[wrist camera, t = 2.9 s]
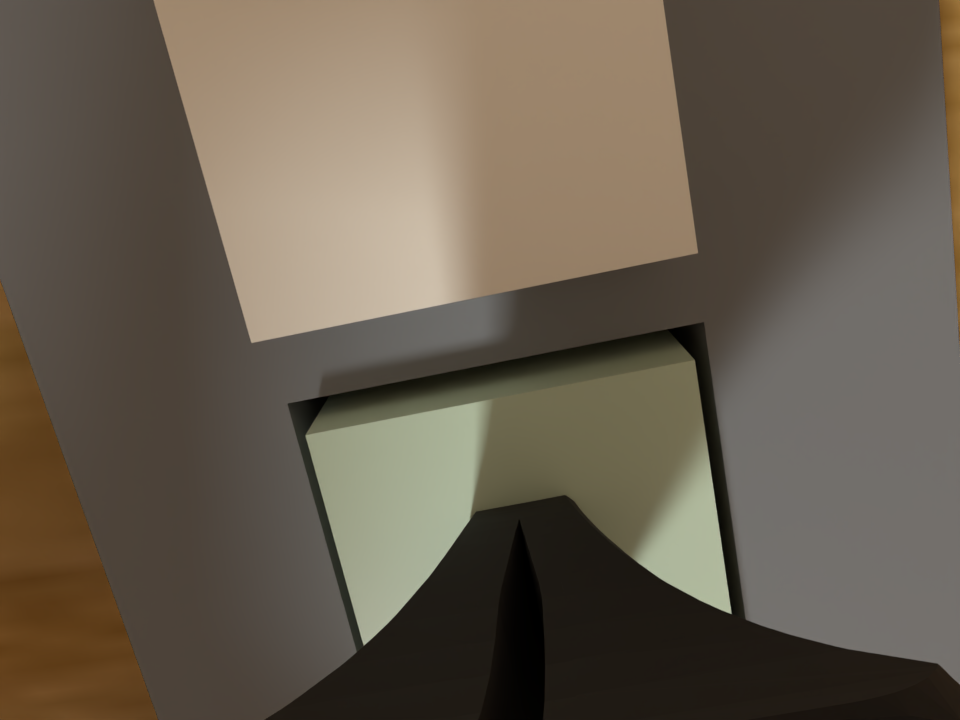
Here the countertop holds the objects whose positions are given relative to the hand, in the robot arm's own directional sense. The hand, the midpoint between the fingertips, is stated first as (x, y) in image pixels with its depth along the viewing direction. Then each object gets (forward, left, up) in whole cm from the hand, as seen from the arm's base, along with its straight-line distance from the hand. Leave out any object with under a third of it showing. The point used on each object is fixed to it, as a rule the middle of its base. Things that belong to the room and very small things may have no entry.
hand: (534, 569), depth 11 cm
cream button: (+6, 0, -2) cm, 7 cm away
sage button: (0, 0, -3) cm, 3 cm away
